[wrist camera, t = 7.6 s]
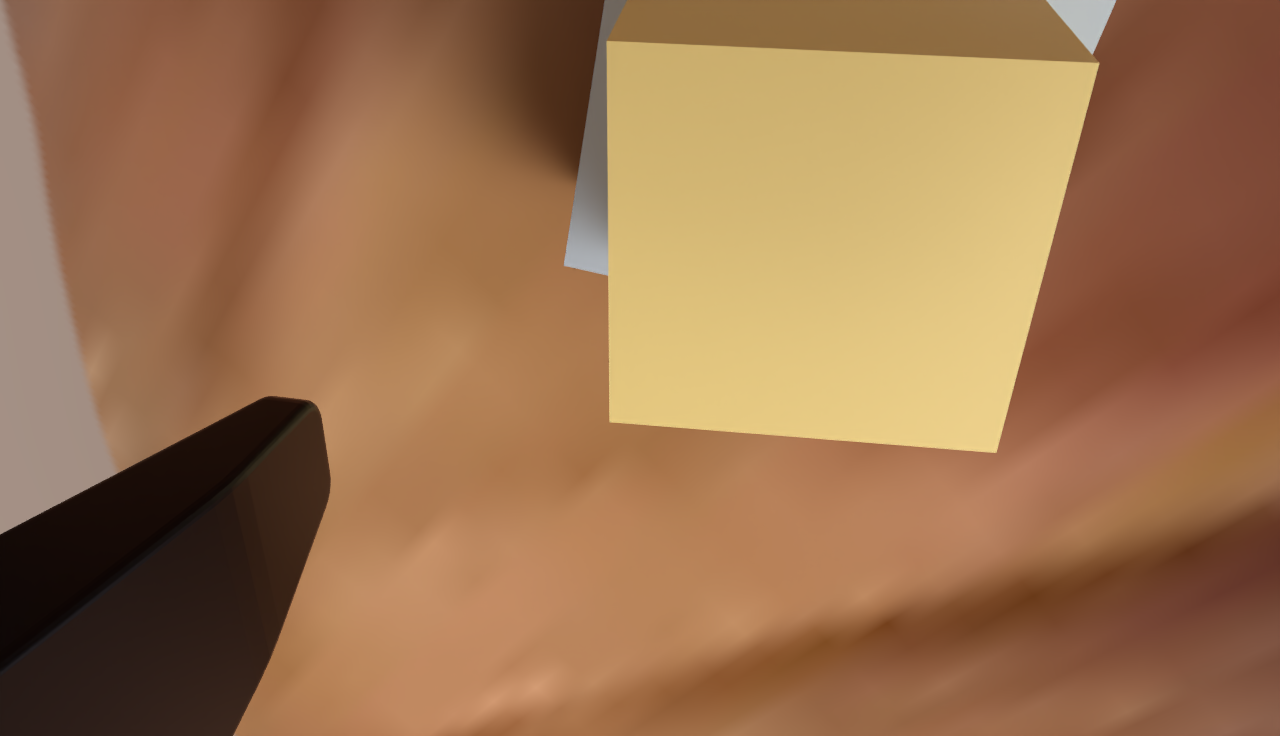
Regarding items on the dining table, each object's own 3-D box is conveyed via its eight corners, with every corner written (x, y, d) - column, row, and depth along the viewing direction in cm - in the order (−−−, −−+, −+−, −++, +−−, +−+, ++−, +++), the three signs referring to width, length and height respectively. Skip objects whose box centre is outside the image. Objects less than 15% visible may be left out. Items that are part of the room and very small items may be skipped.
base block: (1087, -118, 16) (1149, -76, 13) (938, 259, 20) (961, 354, 17) (662, -210, 16) (633, -189, 13) (597, 183, 20) (563, 265, 17)
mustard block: (1014, -37, 14) (1098, 63, 10) (948, 283, 17) (995, 453, 13) (651, -50, 14) (605, 41, 11) (647, 263, 17) (609, 422, 13)
